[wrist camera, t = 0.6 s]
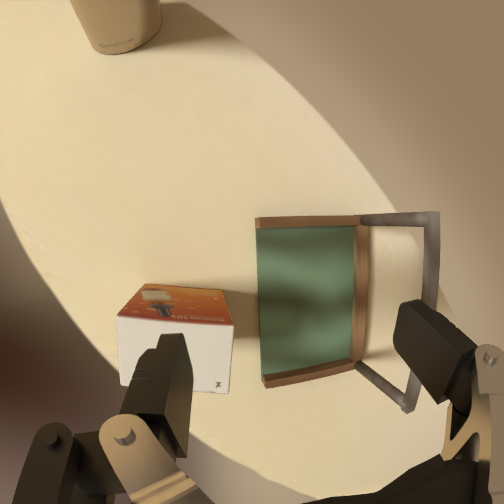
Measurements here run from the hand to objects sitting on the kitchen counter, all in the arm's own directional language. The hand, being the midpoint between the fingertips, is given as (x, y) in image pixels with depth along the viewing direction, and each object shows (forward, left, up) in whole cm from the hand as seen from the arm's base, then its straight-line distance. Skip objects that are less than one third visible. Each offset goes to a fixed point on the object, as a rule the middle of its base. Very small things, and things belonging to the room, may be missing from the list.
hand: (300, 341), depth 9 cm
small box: (+4, -5, -19) cm, 20 cm away
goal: (+4, +9, -19) cm, 21 cm away
